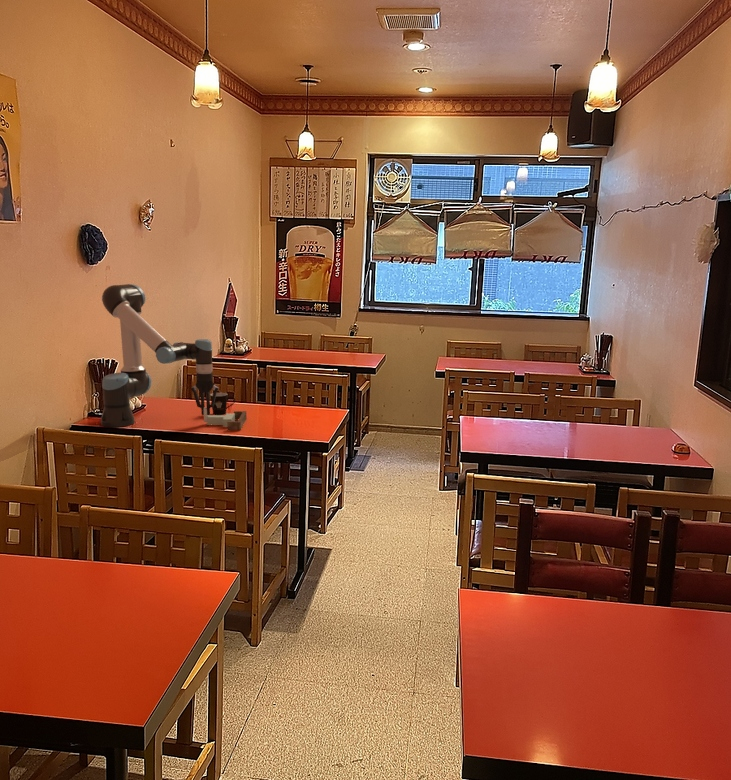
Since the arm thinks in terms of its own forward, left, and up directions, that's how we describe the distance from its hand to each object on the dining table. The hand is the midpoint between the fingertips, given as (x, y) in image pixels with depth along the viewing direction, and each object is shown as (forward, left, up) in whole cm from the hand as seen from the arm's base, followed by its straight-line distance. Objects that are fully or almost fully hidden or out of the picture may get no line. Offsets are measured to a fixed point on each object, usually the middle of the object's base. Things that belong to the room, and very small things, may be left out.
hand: (206, 421), depth 330 cm
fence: (+15, 0, -2) cm, 15 cm away
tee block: (+7, 0, -2) cm, 7 cm away
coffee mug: (+4, +22, -2) cm, 23 cm away
